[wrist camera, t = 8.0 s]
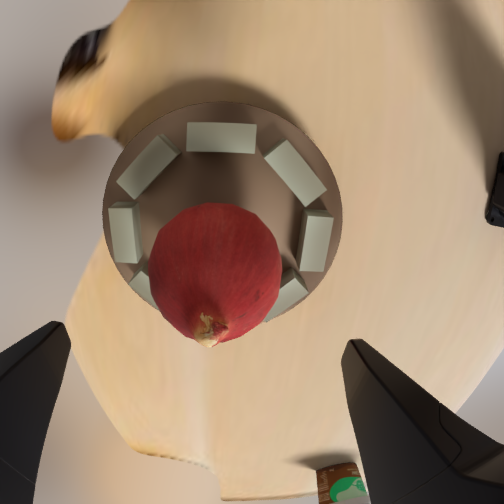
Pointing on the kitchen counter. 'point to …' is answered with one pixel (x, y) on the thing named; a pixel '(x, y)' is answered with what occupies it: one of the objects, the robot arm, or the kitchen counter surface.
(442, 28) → the kitchen counter surface
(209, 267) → the pomegranate
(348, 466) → the food container
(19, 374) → the robot arm
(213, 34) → the kitchen counter surface
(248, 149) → the display stand
